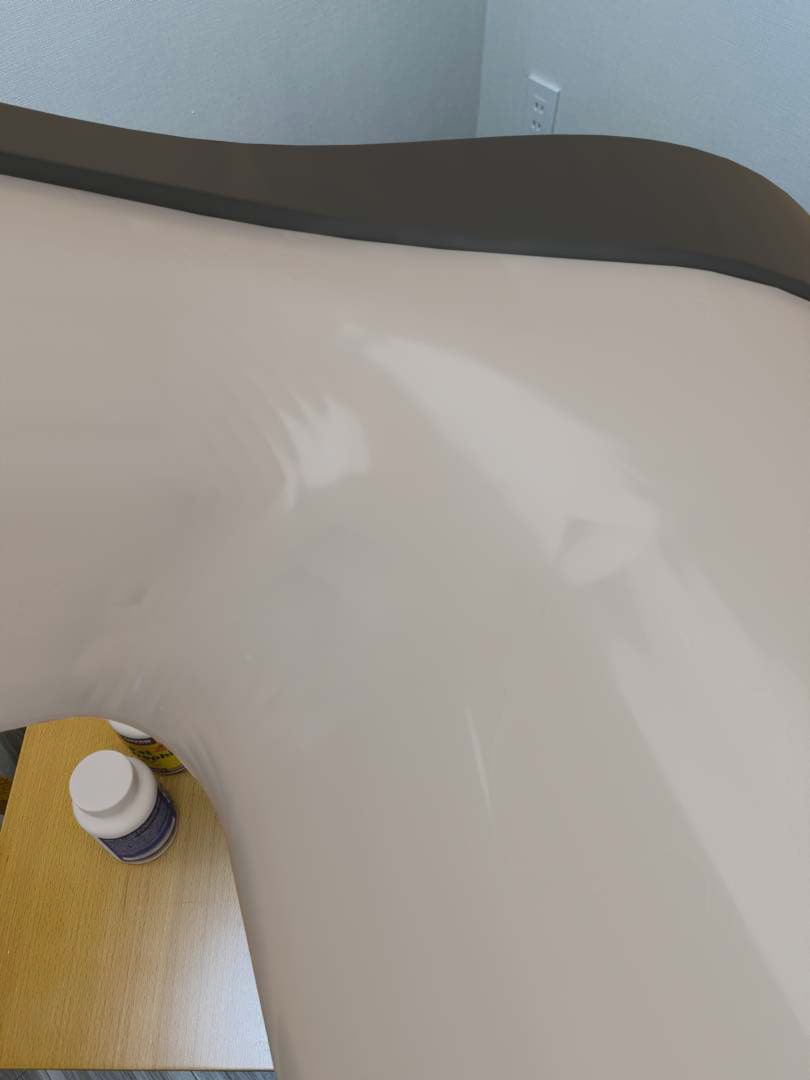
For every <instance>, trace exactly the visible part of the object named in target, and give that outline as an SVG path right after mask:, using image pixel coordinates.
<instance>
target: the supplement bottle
mask: <svg viewBox="0 0 810 1080" xmlns="http://www.w3.org/2000/svg"><path fill="white" fill-rule="evenodd" d="M106 721H107V723H108V724H109V726H110V727H111V728H112V730H113V731H114V732H115V734H116V735H117V737H118V738H119V740H120V741H121V742H122V743H123V745H124V746H125V747H126V749H127V750H128V752H129V753H130V754H131V755H132V757H134V758H137V759H139V760H141V761H142V762H144V763H145V764H146V765H147V766H148V767H149V768H150V769H151V770H152V772H153V773H154V774H155V775H156V774H157V775H169V774H170V775H171V774H176V773H178V772H180V771H183V770H185V769H187V768H186V767H185V766H184V765H183V764H182V763H181V761H180V760H179V759H178V758H177V757H176V756H175V755H174V754H173V753H172V752H171V751H170V750H168V749H167V748H166V747H165V746H164V745H163V744H161V743H160V742H158V741H157V740H155V739H153V738H152V737H150V736H149V735H147V734H145V733H143V732H141V731H139V730H137V729H134V728H132V727H130V726H127V725H124V724H121V723H118V722H115V721H112V720H106Z"/></svg>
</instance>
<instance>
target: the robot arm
mask: <svg viewBox="0 0 810 1080" xmlns="http://www.w3.org/2000/svg"><path fill="white" fill-rule="evenodd" d="M79 718H93V719H100V720H106V721H107V720H112V721H115V722H118V723H121V724H124V725H127V726H130V727H132V728H134V729H137V730H139V731H141V732H143V733H145V734H147V735H149V736H150V737H152V738H153V739H155V740H157V741H158V742H160V743H161V744H163V745H164V746H165V747H166V748H167V749H168V750H170V751H171V752H172V753H173V754H174V755H175V756H176V757H177V758H178V759H179V760H180V761H181V763H182V764H183V765H184V766H185V767H186V768H185V769H186V770H187V771H188V772H189V773H190V775H191V776H192V777H193V778H194V779H195V781H196V782H198V784H199V785H200V787H201V788H202V790H203V792H204V794H205V795H206V797H207V799H208V801H209V803H210V804H211V805H212V807H213V810H214V813H215V815H216V817H217V820H218V823H219V825H220V828H221V830H222V831H221V832H222V833H223V835H224V836H223V837H224V840H225V844H226V848H227V852H228V857H229V862H230V865H231V871H232V875H233V880H234V885H235V890H236V895H237V899H238V905H239V909H240V915H241V919H242V923H243V929H244V933H245V939H246V942H247V947H248V953H249V957H250V963H251V966H252V972H253V975H254V982H255V985H256V990H257V995H258V1001H259V1005H260V1009H261V1015H262V1020H263V1024H264V1028H265V1034H266V1038H267V1039H266V1040H267V1042H268V1043H267V1044H268V1048H269V1053H270V1058H271V1062H272V1067H273V1072H274V1076H275V1080H810V214H809V212H807V210H806V209H805V208H804V207H803V206H802V205H801V204H800V203H798V202H797V201H796V200H795V199H794V198H793V196H791V195H790V194H789V193H788V192H786V191H785V190H784V189H782V188H781V187H779V186H778V185H776V183H774V182H773V181H771V180H770V179H768V178H767V177H765V176H764V175H762V174H760V173H758V172H756V171H754V170H753V169H751V168H749V167H746V166H744V165H742V164H740V163H739V162H736V161H735V160H734V161H733V160H731V159H729V158H726V157H724V156H720V155H717V154H714V153H711V152H708V151H706V150H702V149H699V148H696V147H692V146H687V145H683V144H678V143H674V142H668V141H662V140H657V139H651V138H643V137H633V136H622V135H621V136H620V135H607V134H571V133H569V134H566V133H565V134H564V133H561V134H560V133H556V134H555V133H554V134H553V133H552V134H549V133H548V134H521V135H519V134H518V135H500V136H498V135H497V136H482V137H481V136H480V137H465V138H452V139H451V138H450V139H435V140H433V139H432V140H418V141H404V142H403V141H402V142H401V141H400V142H381V143H380V142H379V143H363V144H362V143H361V144H309V145H308V144H305V145H303V144H301V145H300V144H278V143H277V144H275V143H274V144H273V143H251V142H250V143H247V142H237V141H225V140H224V141H223V140H215V139H206V138H195V137H185V136H179V135H174V134H173V135H172V134H166V133H158V132H152V131H145V130H141V129H140V130H139V129H133V128H127V127H121V126H116V125H110V124H105V123H100V122H94V121H90V120H85V119H79V118H76V117H75V118H74V117H70V116H66V115H65V116H64V115H61V114H60V115H59V114H55V113H50V112H46V111H41V110H37V109H32V108H28V107H24V106H19V105H15V104H11V103H10V104H9V103H6V102H0V733H3V732H8V731H13V730H17V729H21V728H25V727H31V726H36V725H39V724H44V723H52V722H56V721H57V722H58V721H63V720H69V719H79Z"/></svg>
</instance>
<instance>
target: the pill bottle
mask: <svg viewBox="0 0 810 1080" xmlns="http://www.w3.org/2000/svg"><path fill="white" fill-rule="evenodd" d="M68 790H69V791H68V792H69V795H70V798H71V800H72V802H71V806H72V813H73V815H74V816H73V817H74V818H75V820H76V822H77V823H78V825H79V826H80V828H82V830H84V832H86V833H87V834H88V835H89V836H90V837H91V838H92V839H94V840H95V841H96V842H97V843H98V844H99V845H100V846H101V847H102V848H103V849H104V850H105V851H106V852H107V853H109V855H111V856H112V857H113V858H115V859H116V860H117V861H120V862H122V863H125V864H128V865H129V864H130V865H140V864H146V863H149V862H151V861H154V860H155V859H157V858H159V857H160V856H161V855H163V854H164V853H165V852H166V851H167V850H168V849H169V847H170V846H171V845H172V843H173V841H174V840H175V837H176V836H177V833H178V830H179V824H180V823H179V821H180V819H179V818H180V816H179V811H178V808H177V807H178V806H176V804H175V801H174V799H173V797H171V795H170V794H169V793H168V791H167V790H166V788H165V787H164V785H163V784H162V782H161V781H160V780H159V779H158V777H157V776H156V774H155V773H153V772H152V770H151V769H150V768H149V767H148V766H147V765H146V764H145V763H144V762H142V761H141V760H139V759H137V758H134V757H133V756H130V755H125V754H124V753H121V752H120V751H118V750H113V749H102V750H97V751H95V752H92V753H90V754H88V755H87V756H85V757H84V758H83V759H82V760H80V761H79V763H77V764H76V766H75V767H74V769H73V771H72V773H71V775H70V779H69V784H68Z"/></svg>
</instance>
